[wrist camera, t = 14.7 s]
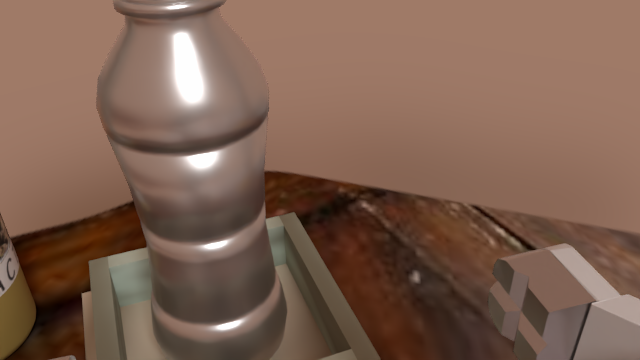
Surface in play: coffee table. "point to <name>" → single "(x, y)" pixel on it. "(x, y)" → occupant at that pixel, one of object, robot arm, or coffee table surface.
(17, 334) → the paper tube
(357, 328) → the bottle stand
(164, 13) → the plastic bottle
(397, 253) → the coffee table surface
